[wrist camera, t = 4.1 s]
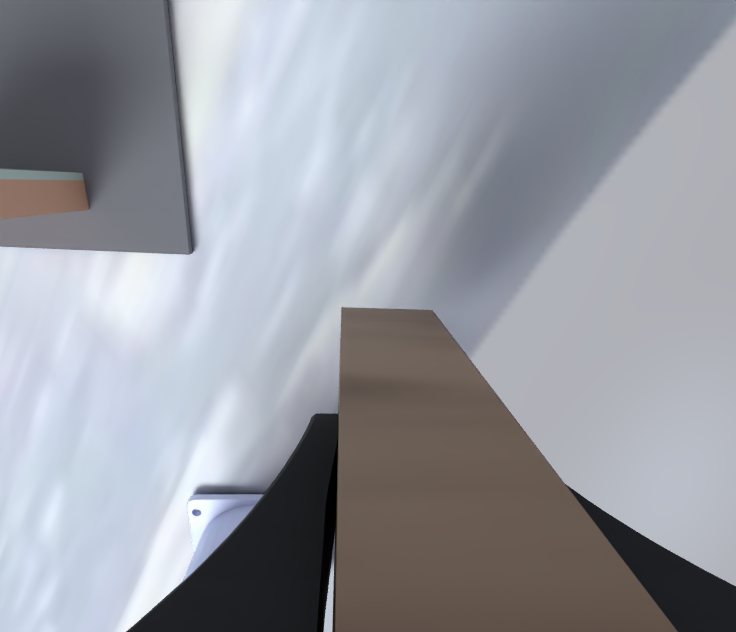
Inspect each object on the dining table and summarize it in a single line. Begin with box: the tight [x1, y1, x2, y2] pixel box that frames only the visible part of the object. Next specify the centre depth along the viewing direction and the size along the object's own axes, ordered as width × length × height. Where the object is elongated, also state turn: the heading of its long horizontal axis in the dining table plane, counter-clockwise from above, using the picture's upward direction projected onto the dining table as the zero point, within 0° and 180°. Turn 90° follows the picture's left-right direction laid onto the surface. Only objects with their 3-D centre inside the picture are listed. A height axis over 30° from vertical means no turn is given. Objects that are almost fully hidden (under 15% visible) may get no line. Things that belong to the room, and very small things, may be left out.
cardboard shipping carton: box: [332, 307, 678, 632], centre depth 8 cm, size 5×3×10 cm, turn 177°
